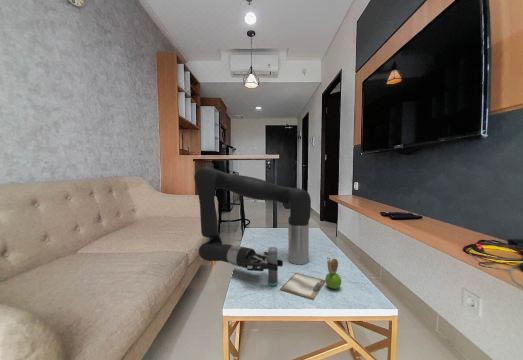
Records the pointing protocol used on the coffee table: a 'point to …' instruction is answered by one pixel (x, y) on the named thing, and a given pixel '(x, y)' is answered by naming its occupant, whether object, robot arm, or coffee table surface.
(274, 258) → the cylinder
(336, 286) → the snail figurine
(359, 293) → the coffee table surface
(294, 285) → the clipboard
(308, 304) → the coffee table surface
